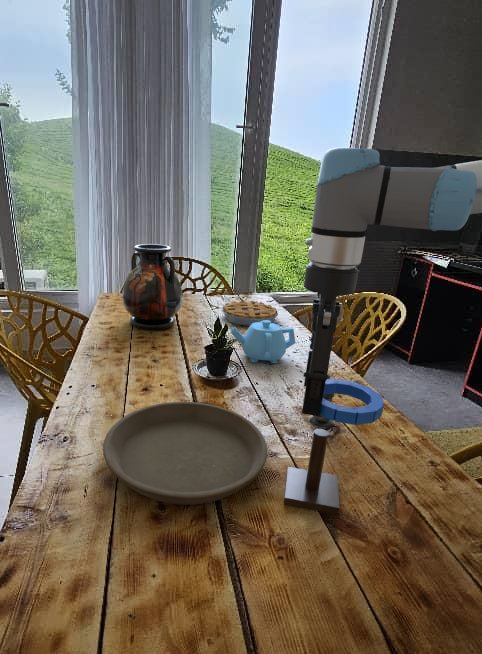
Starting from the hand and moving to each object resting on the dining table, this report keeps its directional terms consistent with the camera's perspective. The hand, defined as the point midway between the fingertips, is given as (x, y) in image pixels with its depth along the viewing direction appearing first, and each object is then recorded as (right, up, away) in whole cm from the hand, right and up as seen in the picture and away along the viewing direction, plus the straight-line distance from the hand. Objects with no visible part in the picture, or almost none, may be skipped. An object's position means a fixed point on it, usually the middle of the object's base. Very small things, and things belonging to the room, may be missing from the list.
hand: (311, 399), depth 74 cm
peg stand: (+1, -17, +5) cm, 18 cm away
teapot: (0, +7, +64) cm, 64 cm away
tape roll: (+5, -1, -1) cm, 5 cm away
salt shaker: (+9, -8, +28) cm, 31 cm away
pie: (+1, +22, +101) cm, 103 cm away
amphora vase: (-36, +19, +89) cm, 98 cm away
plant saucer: (-21, -13, +13) cm, 28 cm away
